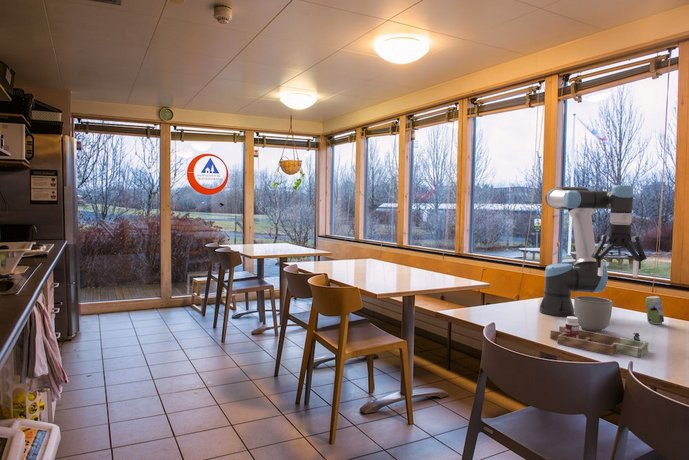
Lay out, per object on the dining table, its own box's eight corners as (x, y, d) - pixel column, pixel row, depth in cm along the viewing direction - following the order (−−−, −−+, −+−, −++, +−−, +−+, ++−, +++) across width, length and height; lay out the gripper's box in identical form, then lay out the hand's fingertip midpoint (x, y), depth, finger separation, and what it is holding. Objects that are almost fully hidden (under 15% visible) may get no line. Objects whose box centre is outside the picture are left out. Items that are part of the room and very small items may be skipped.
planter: (565, 327, 197) (566, 296, 196) (588, 324, 202) (590, 295, 202) (594, 336, 184) (596, 303, 184) (618, 333, 190) (620, 301, 189)
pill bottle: (561, 337, 182) (563, 316, 181) (573, 337, 182) (574, 316, 182) (568, 341, 177) (569, 319, 176) (580, 341, 177) (582, 319, 177)
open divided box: (545, 340, 176) (545, 332, 176) (559, 333, 187) (560, 326, 187) (637, 360, 156) (637, 351, 155) (647, 351, 166) (648, 342, 166)
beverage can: (666, 325, 204) (668, 298, 204) (647, 324, 206) (649, 297, 205) (659, 322, 210) (661, 295, 210) (641, 321, 212) (643, 294, 211)
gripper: (592, 223, 187) (589, 276, 188) (658, 225, 185) (655, 279, 186) (584, 222, 194) (581, 274, 195) (647, 224, 192) (644, 276, 193)
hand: (617, 276), depth 191 cm, fingers open, 13 cm apart
